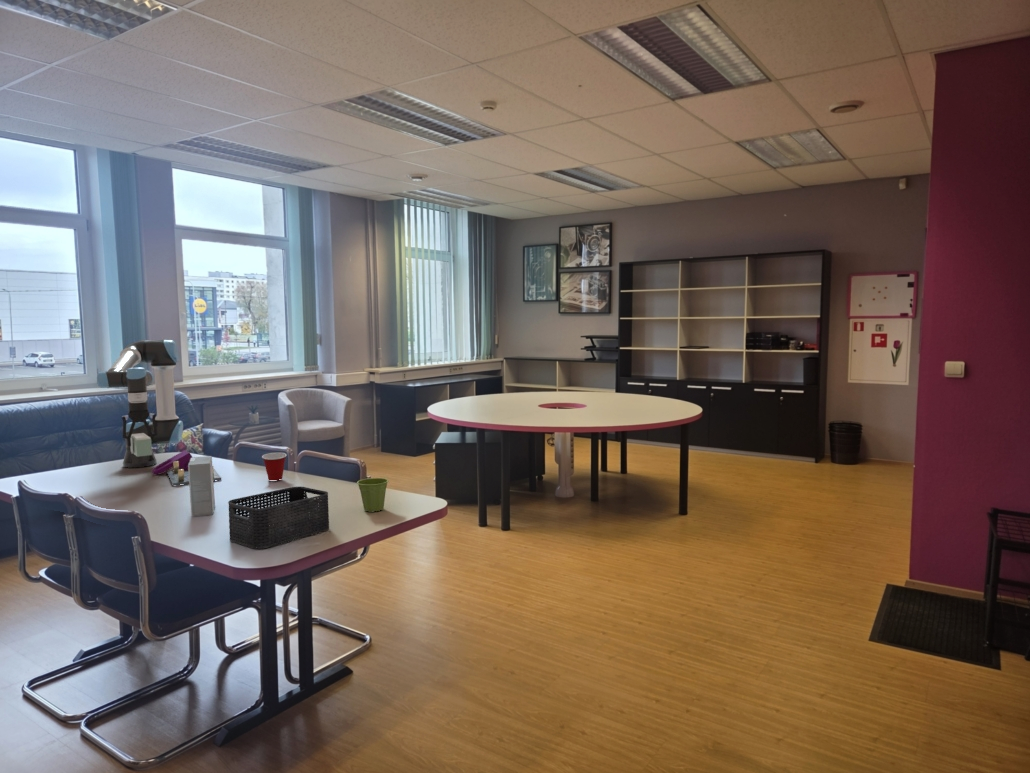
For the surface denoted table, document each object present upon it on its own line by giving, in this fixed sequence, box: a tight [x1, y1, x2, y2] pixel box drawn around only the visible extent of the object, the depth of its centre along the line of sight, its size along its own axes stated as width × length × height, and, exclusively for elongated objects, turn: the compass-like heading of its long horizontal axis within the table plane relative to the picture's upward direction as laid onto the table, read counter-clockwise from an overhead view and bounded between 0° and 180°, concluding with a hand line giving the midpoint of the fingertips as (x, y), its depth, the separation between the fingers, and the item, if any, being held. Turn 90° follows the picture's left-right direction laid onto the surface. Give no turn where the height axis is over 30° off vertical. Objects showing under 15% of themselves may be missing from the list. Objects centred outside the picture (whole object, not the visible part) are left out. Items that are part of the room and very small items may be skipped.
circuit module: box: [130, 433, 153, 457], centre depth 303 cm, size 16×6×8 cm, turn 39°
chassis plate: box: [166, 461, 222, 486], centre depth 315 cm, size 30×20×6 cm, turn 32°
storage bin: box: [227, 486, 330, 550], centre depth 224 cm, size 29×19×13 cm
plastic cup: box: [261, 452, 288, 481], centre depth 307 cm, size 11×11×12 cm
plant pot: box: [356, 477, 389, 513], centre depth 254 cm, size 12×12×11 cm
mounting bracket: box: [151, 449, 193, 475], centre depth 329 cm, size 9×8×18 cm
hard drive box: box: [188, 455, 216, 518], centre depth 255 cm, size 16×8×20 cm, turn 22°
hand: (141, 452), depth 304 cm, fingers closed on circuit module, 6 cm apart
